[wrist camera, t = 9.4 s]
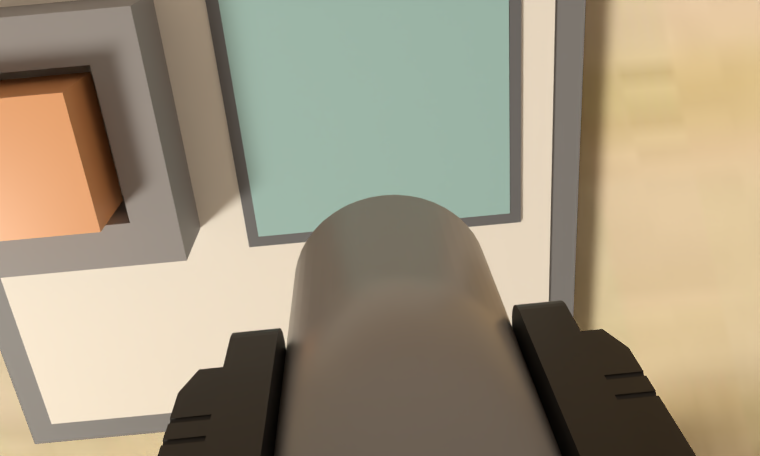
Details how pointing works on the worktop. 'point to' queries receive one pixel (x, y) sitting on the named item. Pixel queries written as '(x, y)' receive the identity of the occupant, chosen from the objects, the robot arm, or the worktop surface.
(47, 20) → the drawing board
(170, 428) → the robot arm
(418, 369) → the teal marker
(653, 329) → the worktop surface
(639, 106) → the worktop surface
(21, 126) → the button
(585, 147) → the worktop surface
